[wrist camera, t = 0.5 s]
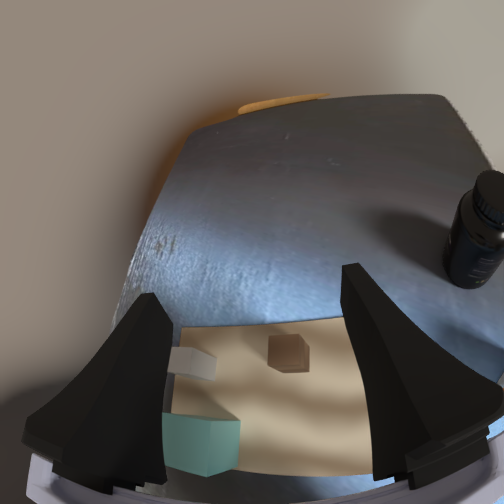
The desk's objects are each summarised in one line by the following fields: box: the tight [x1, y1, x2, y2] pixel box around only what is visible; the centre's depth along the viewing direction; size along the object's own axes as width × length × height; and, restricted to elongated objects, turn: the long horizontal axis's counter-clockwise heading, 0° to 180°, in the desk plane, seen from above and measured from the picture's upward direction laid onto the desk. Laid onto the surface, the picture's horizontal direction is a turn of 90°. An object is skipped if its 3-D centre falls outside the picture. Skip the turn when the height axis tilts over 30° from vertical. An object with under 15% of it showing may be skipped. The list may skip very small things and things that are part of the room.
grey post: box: [167, 347, 217, 381], centre depth 26 cm, size 3×3×5 cm
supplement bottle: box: [442, 170, 504, 289], centre depth 19 cm, size 7×7×12 cm
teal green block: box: [162, 412, 241, 477], centre depth 21 cm, size 5×5×6 cm
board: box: [171, 317, 373, 476], centre depth 24 cm, size 16×24×1 cm, turn 86°
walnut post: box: [267, 334, 310, 373], centre depth 23 cm, size 3×3×5 cm
